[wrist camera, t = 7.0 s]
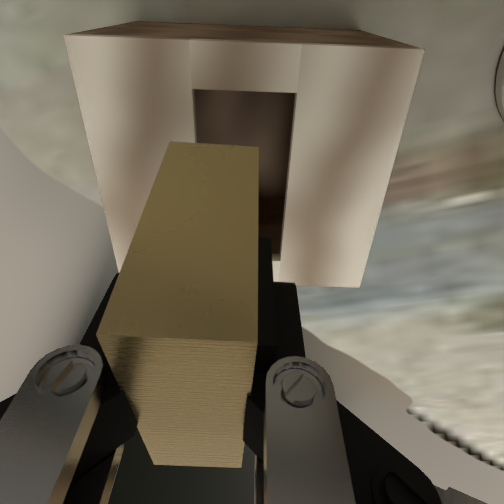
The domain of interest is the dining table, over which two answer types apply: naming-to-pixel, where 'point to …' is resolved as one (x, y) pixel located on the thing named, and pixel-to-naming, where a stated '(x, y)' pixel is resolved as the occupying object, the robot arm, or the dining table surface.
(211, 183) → the tan flat block
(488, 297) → the dining table surface
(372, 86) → the box with rectangular opening
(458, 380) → the dining table surface
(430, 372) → the dining table surface
